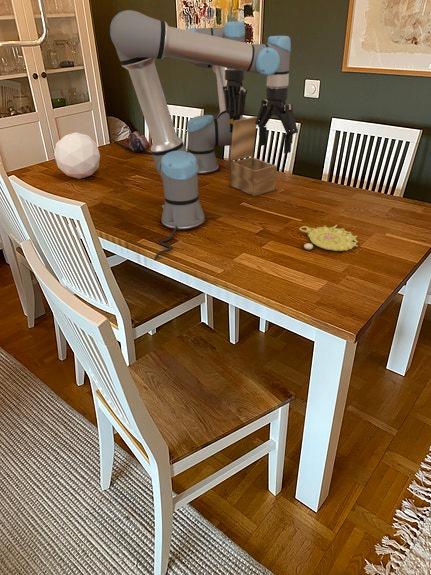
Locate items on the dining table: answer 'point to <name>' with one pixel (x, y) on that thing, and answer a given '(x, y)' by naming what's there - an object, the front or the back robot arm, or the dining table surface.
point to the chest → (253, 176)
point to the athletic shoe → (137, 142)
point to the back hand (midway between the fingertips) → (234, 132)
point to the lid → (243, 138)
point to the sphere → (77, 155)
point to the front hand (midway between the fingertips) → (274, 148)
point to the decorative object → (330, 238)
